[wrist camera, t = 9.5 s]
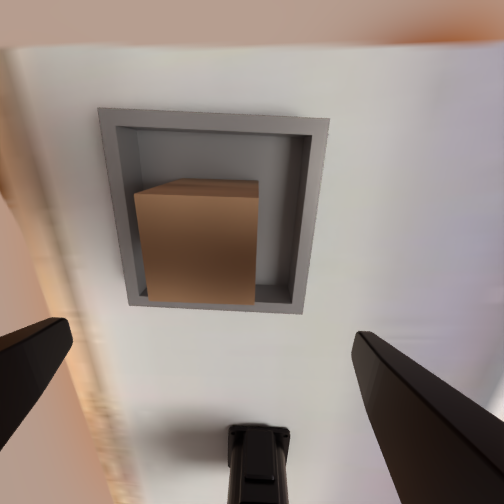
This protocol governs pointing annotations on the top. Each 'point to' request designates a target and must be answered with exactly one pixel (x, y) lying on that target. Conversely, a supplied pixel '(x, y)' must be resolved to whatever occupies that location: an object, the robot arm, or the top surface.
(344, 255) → the top surface
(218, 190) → the walnut block
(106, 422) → the top surface
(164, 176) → the grey square tray
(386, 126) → the top surface
